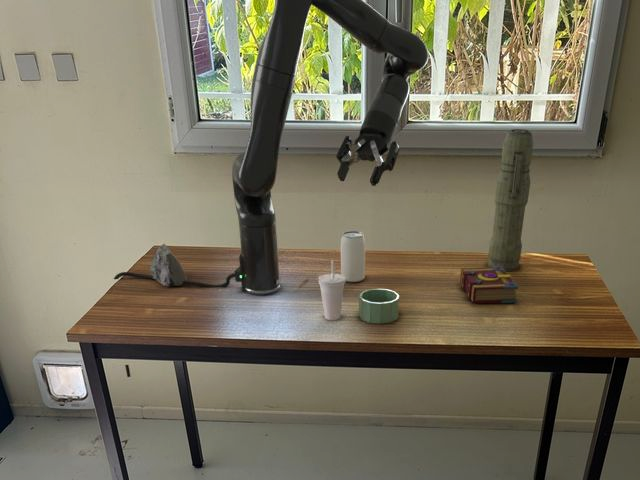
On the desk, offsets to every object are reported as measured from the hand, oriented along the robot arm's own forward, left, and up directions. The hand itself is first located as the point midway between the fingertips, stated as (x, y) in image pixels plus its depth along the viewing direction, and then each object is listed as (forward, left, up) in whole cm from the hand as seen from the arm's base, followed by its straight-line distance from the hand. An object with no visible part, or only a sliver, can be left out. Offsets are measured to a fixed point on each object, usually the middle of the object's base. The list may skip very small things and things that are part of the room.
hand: (356, 181), depth 161 cm
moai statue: (+36, +33, -29) cm, 57 cm away
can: (-4, +15, -29) cm, 32 cm away
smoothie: (-3, -12, -29) cm, 31 cm away
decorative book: (+32, +11, -29) cm, 45 cm away
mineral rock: (-53, +5, -29) cm, 60 cm away
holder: (+7, -9, -28) cm, 31 cm away
